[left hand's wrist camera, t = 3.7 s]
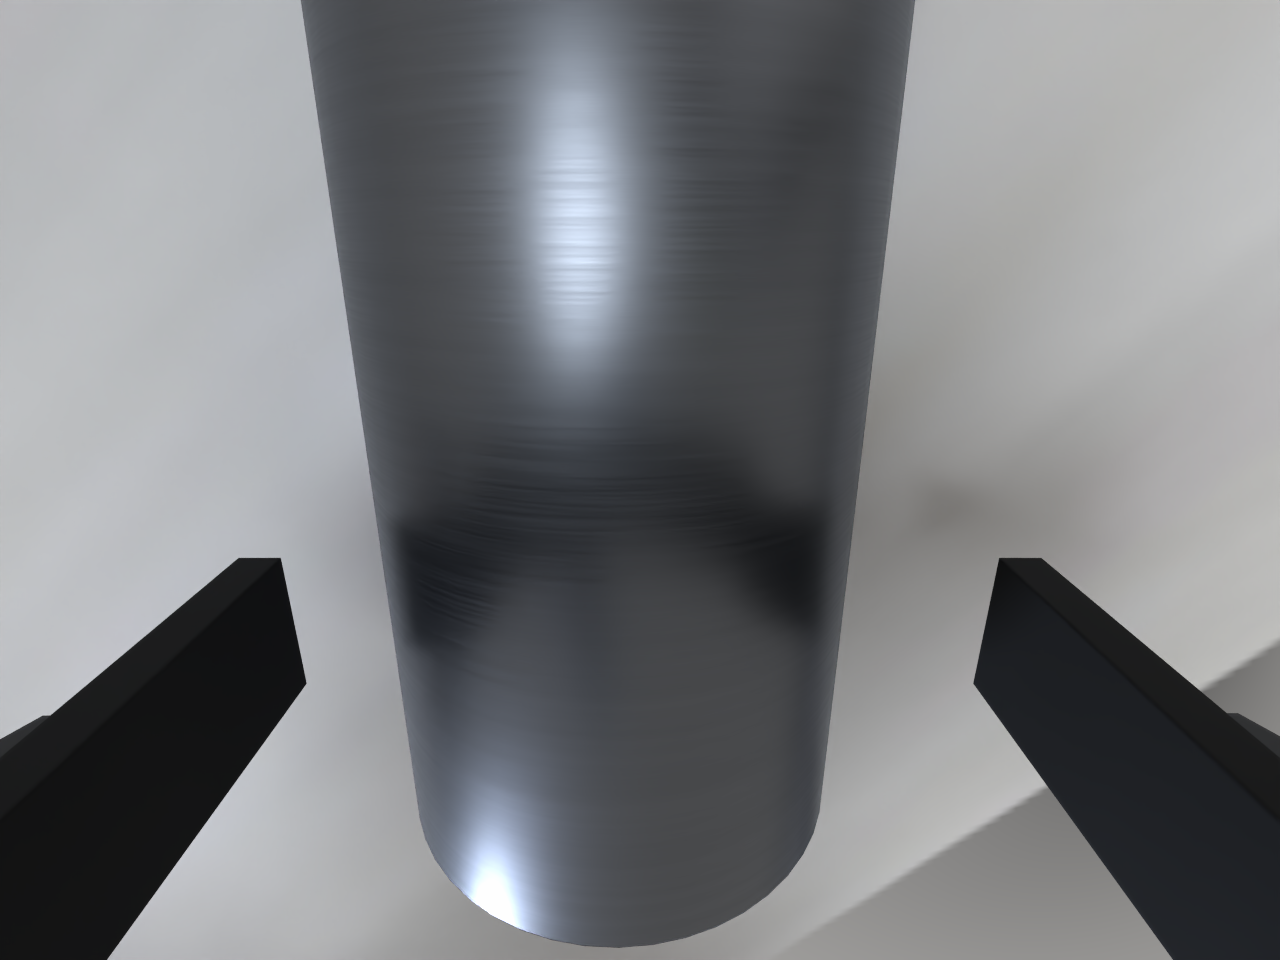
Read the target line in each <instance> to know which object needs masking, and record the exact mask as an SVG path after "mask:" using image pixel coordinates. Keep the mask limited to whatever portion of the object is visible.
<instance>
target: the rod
mask: <svg viewBox="0 0 1280 960" xmlns="http://www.w3.org/2000/svg"><path fill="white" fill-rule="evenodd" d="M301 4H302V11H303V18H304V25H305V32H306V38H307V45H308V52H309V59H310V66H311V73H312V80H313V87H314V93H315V100H316V107H317V114H318V121H319V128H320V135H321V142H322V148H323V155H324V162H325V169H326V176H327V183H328V190H329V197H330V203H331V210H332V217H333V224H334V231H335V238H336V245H337V252H338V258H339V265H340V272H341V279H342V286H343V293H344V300H345V307H346V313H347V320H348V327H349V334H350V341H351V348H352V355H353V362H354V368H355V375H356V382H357V389H358V396H359V403H360V410H361V417H362V423H363V430H364V437H365V444H366V451H367V458H368V465H369V472H370V478H371V485H372V492H373V499H374V506H375V513H376V520H377V527H378V533H379V540H380V547H381V554H382V561H383V568H384V575H385V582H386V588H387V595H388V602H389V609H390V616H391V623H392V630H393V637H394V643H395V650H396V657H397V664H398V671H399V678H400V685H401V692H402V698H403V705H404V712H405V719H406V726H407V733H408V740H409V747H410V753H411V760H412V767H413V774H414V781H415V788H416V795H417V802H418V808H419V815H420V820H421V824H422V828H423V832H424V835H425V839H426V841H427V843H428V845H429V848H430V850H431V852H432V854H433V856H434V858H435V860H436V861H437V863H438V864H439V866H440V867H441V868H442V870H443V871H444V873H445V874H446V875H447V877H448V878H449V879H450V881H451V882H452V883H453V884H454V885H455V886H457V887H458V888H459V889H460V890H461V891H462V892H463V893H464V894H465V895H466V896H467V897H468V898H469V899H470V900H471V901H472V902H474V903H475V904H477V905H478V906H480V907H481V908H482V909H484V910H485V911H487V912H488V913H490V914H491V915H493V916H494V917H496V918H498V919H500V920H502V921H504V922H506V923H508V924H510V925H512V926H514V927H516V928H518V929H520V930H523V931H526V932H529V933H532V934H535V935H538V936H541V937H544V938H547V939H550V940H555V941H560V942H566V943H571V944H577V945H582V946H596V947H617V948H620V947H632V946H645V945H654V944H659V943H664V942H668V941H673V940H678V939H683V938H687V937H689V936H692V935H695V934H698V933H701V932H703V931H706V930H709V929H712V928H715V927H717V926H719V925H721V924H723V923H725V922H727V921H729V920H731V919H733V918H734V917H736V916H738V915H740V914H742V913H744V912H745V911H747V910H748V909H750V908H751V907H752V906H754V905H755V904H756V903H758V902H759V901H761V900H762V899H763V898H765V897H766V896H768V895H769V894H770V893H771V892H772V891H773V890H774V889H775V888H776V887H777V886H778V885H779V884H780V883H781V882H782V881H783V880H784V879H785V878H786V877H787V876H788V874H789V873H790V872H791V870H792V869H793V868H794V866H795V865H796V863H797V862H798V861H799V859H800V858H801V857H802V855H803V853H804V851H805V849H806V847H807V845H808V843H809V841H810V839H811V837H812V835H813V833H814V829H815V826H816V822H817V818H818V815H819V810H820V802H821V793H822V785H823V776H824V768H825V759H826V751H827V742H828V734H829V725H830V717H831V708H832V700H833V691H834V683H835V674H836V666H837V657H838V649H839V641H840V632H841V624H842V615H843V607H844V598H845V590H846V581H847V573H848V564H849V556H850V547H851V539H852V530H853V522H854V513H855V505H856V496H857V488H858V479H859V471H860V462H861V454H862V446H863V437H864V429H865V420H866V412H867V403H868V395H869V386H870V378H871V369H872V361H873V352H874V344H875V335H876V327H877V318H878V310H879V301H880V293H881V284H882V276H883V267H884V259H885V250H886V242H887V234H888V225H889V217H890V208H891V200H892V191H893V183H894V174H895V166H896V157H897V149H898V140H899V132H900V123H901V115H902V106H903V98H904V89H905V81H906V72H907V64H908V55H909V47H910V39H911V30H912V22H913V13H914V5H915V0H301Z"/></svg>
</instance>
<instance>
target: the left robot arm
mask: <svg viewBox="0 0 1280 960" xmlns="http://www.w3.org/2000/svg"><path fill="white" fill-rule="evenodd" d="M306 684H307V683H306V678H305V673H304V669H303V664H302V659H301V654H300V649H299V644H298V640H297V635H296V630H295V625H294V620H293V615H292V610H291V606H290V601H289V596H288V591H287V586H286V581H285V576H284V572H283V567H282V562H281V558H238V559H237V560H236V561H235V562H233V563H232V564H231V565H230V566H229V567H227V568H226V569H225V570H224V571H223V572H221V573H220V574H219V575H218V576H217V577H216V578H214V579H213V580H212V581H211V582H210V583H208V584H207V585H206V586H205V587H204V588H202V589H201V590H200V591H199V592H198V593H196V594H195V595H194V596H193V597H192V598H190V599H189V600H188V601H187V602H186V603H184V604H183V605H182V606H181V607H180V608H178V609H177V610H176V611H175V612H174V613H172V614H171V615H170V616H169V617H168V618H167V619H165V620H164V621H163V622H162V623H161V624H159V625H158V626H157V627H156V628H155V629H153V630H152V631H151V632H150V633H149V634H147V635H146V636H145V637H144V638H143V639H141V640H140V641H139V642H138V643H137V644H135V645H134V646H133V647H132V648H131V649H129V650H128V651H127V652H126V653H125V654H123V655H122V656H121V657H120V658H119V659H118V660H116V661H115V662H114V663H113V664H112V665H110V666H109V667H108V668H107V669H106V670H104V671H103V672H102V673H101V674H100V675H98V676H97V677H96V678H95V679H94V680H92V681H91V682H90V683H89V684H88V685H86V686H85V687H84V688H83V689H82V690H80V691H79V692H78V693H77V694H76V695H74V696H73V697H72V698H71V699H70V700H68V701H67V702H66V703H65V704H64V705H63V706H61V707H60V708H59V709H58V710H57V711H55V712H54V713H53V714H52V715H51V716H41V717H40V718H38V719H36V720H34V721H32V722H31V723H29V724H27V725H25V726H23V727H22V728H20V729H18V730H16V731H14V732H13V733H11V734H9V735H7V736H5V737H4V738H2V739H0V960H107V959H108V957H109V956H110V955H111V953H112V952H113V951H114V949H115V948H116V946H117V945H118V944H119V942H120V941H121V940H122V938H123V937H124V935H125V934H126V933H127V931H128V930H129V928H130V927H131V926H132V924H133V923H134V922H135V920H136V919H137V917H138V916H139V915H140V913H141V912H142V910H143V909H144V908H145V906H146V905H147V904H148V902H149V901H150V899H151V898H152V897H153V895H154V894H155V892H156V891H157V890H158V888H159V887H160V886H161V884H162V883H163V881H164V880H165V879H166V877H167V876H168V875H169V873H170V872H171V870H172V869H173V868H174V866H175V865H176V863H177V862H178V861H179V859H180V858H181V857H182V855H183V854H184V852H185V851H186V850H187V848H188V847H189V845H190V844H191V843H192V841H193V840H194V839H195V837H196V836H197V834H198V833H199V832H200V830H201V829H202V827H203V826H204V825H205V823H206V822H207V821H208V819H209V818H210V816H211V815H212V814H213V812H214V811H215V809H216V808H217V807H218V805H219V804H220V803H221V801H222V800H223V798H224V797H225V796H226V794H227V793H228V792H229V790H230V789H231V787H232V786H233V785H234V783H235V782H236V780H237V779H238V778H239V776H240V775H241V774H242V772H243V771H244V769H245V768H246V767H247V765H248V764H249V762H250V761H251V760H252V758H253V757H254V756H255V754H256V753H257V751H258V750H259V749H260V747H261V746H262V744H263V743H264V742H265V740H266V739H267V738H268V736H269V735H270V733H271V732H272V731H273V729H274V728H275V727H276V725H277V724H278V722H279V721H280V720H281V718H282V717H283V715H284V714H285V713H286V711H287V710H288V709H289V707H290V706H291V704H292V703H293V702H294V700H295V699H296V697H297V696H298V695H299V693H300V692H301V691H302V689H303V688H304V686H305V685H306ZM973 684H974V685H975V686H976V688H977V689H978V691H979V692H980V693H981V695H982V696H983V697H984V699H985V700H986V702H987V703H988V704H989V706H990V707H991V709H992V710H993V711H994V713H995V714H996V715H997V717H998V718H999V720H1000V721H1001V722H1002V724H1003V725H1004V727H1005V728H1006V729H1007V731H1008V732H1009V733H1010V735H1011V736H1012V738H1013V739H1014V740H1015V742H1016V743H1017V744H1018V746H1019V747H1020V749H1021V750H1022V751H1023V753H1024V754H1025V756H1026V757H1027V758H1028V760H1029V761H1030V762H1031V764H1032V765H1033V767H1034V768H1035V769H1036V771H1037V772H1038V774H1039V775H1040V776H1041V778H1042V779H1043V780H1044V782H1045V783H1046V785H1047V786H1048V787H1049V789H1050V790H1051V791H1052V793H1053V794H1054V796H1055V797H1056V798H1057V800H1058V801H1059V803H1060V804H1061V805H1062V807H1063V808H1064V809H1065V811H1066V812H1067V813H1068V815H1069V816H1070V818H1071V819H1072V821H1073V822H1074V823H1075V825H1076V826H1077V827H1078V829H1079V830H1080V832H1081V833H1082V834H1083V836H1084V837H1085V839H1086V840H1087V841H1088V843H1089V844H1090V845H1091V847H1092V848H1093V850H1094V851H1095V852H1096V854H1097V855H1098V857H1099V858H1100V859H1101V861H1102V862H1103V863H1104V865H1105V866H1106V868H1107V869H1108V870H1109V872H1110V873H1111V874H1112V876H1113V877H1114V879H1115V880H1116V881H1117V883H1118V884H1119V885H1120V887H1121V888H1122V890H1123V891H1124V892H1125V894H1126V895H1127V897H1128V898H1129V899H1130V901H1131V902H1132V904H1133V905H1134V906H1135V908H1136V909H1137V910H1138V912H1139V913H1140V915H1141V916H1142V917H1143V919H1144V920H1145V922H1146V923H1147V924H1148V926H1149V927H1150V928H1151V930H1152V931H1153V933H1154V934H1155V935H1156V937H1157V938H1158V940H1159V941H1160V942H1161V944H1162V945H1163V946H1164V948H1165V949H1166V951H1167V952H1168V953H1169V955H1170V956H1171V957H1172V959H1173V960H1280V736H1278V735H1276V734H1275V733H1273V732H1271V731H1269V730H1267V729H1266V728H1264V727H1262V726H1260V725H1258V724H1256V723H1255V722H1253V721H1251V720H1249V719H1247V718H1246V717H1244V716H1242V715H1240V714H1238V713H1226V712H1225V711H1223V710H1222V709H1221V708H1220V707H1219V706H1217V705H1216V704H1215V703H1214V702H1213V701H1212V700H1210V699H1209V698H1208V697H1207V696H1205V695H1204V694H1203V693H1202V692H1201V691H1200V690H1198V689H1197V688H1196V687H1195V686H1194V685H1192V684H1191V683H1190V682H1189V681H1188V680H1186V679H1185V678H1184V677H1183V676H1182V675H1180V674H1179V673H1178V672H1177V671H1176V670H1174V669H1173V668H1172V667H1171V666H1170V665H1168V664H1167V663H1166V662H1165V661H1164V660H1162V659H1161V658H1160V657H1159V656H1158V655H1157V654H1155V653H1154V652H1153V651H1152V650H1151V649H1149V648H1148V647H1147V646H1146V645H1145V644H1143V643H1142V642H1141V641H1140V640H1139V639H1137V638H1136V637H1135V636H1134V635H1133V634H1131V633H1130V632H1129V631H1128V630H1127V629H1125V628H1124V627H1123V626H1122V625H1121V624H1119V623H1118V622H1117V621H1116V620H1115V619H1113V618H1112V617H1111V616H1110V615H1109V614H1108V613H1106V612H1105V611H1104V610H1103V609H1102V608H1100V607H1099V606H1098V605H1097V604H1096V603H1094V602H1093V601H1092V600H1091V599H1090V598H1088V597H1087V596H1086V595H1085V594H1084V593H1082V592H1081V591H1080V590H1079V589H1078V588H1076V587H1075V586H1074V585H1073V584H1072V583H1070V582H1069V581H1068V580H1067V579H1066V578H1064V577H1063V576H1062V575H1061V574H1060V573H1059V572H1057V571H1056V570H1055V569H1054V568H1053V567H1051V566H1050V565H1049V564H1048V563H1047V562H1045V561H1044V560H1043V559H1042V558H999V562H998V567H997V572H996V576H995V581H994V586H993V591H992V596H991V601H990V606H989V610H988V615H987V620H986V625H985V630H984V635H983V640H982V644H981V649H980V654H979V659H978V664H977V669H976V673H975V678H974V683H973Z"/></svg>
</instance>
